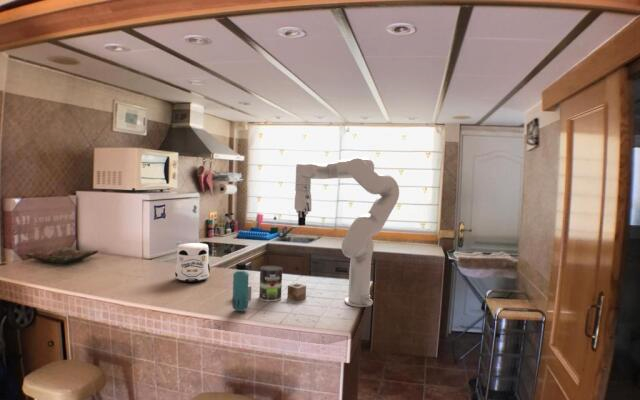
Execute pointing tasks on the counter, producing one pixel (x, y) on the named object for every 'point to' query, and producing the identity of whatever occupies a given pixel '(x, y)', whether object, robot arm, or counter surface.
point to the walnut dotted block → (296, 292)
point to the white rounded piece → (192, 262)
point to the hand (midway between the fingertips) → (301, 225)
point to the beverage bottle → (240, 288)
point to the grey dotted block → (249, 291)
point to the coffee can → (270, 283)
